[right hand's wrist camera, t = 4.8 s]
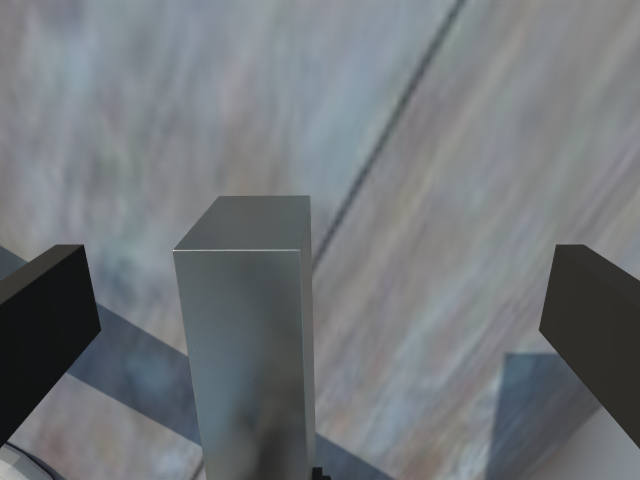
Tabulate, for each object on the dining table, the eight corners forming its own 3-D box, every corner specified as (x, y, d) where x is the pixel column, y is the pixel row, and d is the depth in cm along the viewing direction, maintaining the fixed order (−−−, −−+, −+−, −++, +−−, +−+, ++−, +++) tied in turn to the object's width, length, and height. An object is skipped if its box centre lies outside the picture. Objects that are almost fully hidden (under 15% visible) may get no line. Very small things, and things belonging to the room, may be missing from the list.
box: (218, 195, 28) (172, 250, 20) (310, 195, 28) (301, 249, 20) (245, 458, 36) (220, 574, 28) (316, 459, 36) (311, 575, 28)
